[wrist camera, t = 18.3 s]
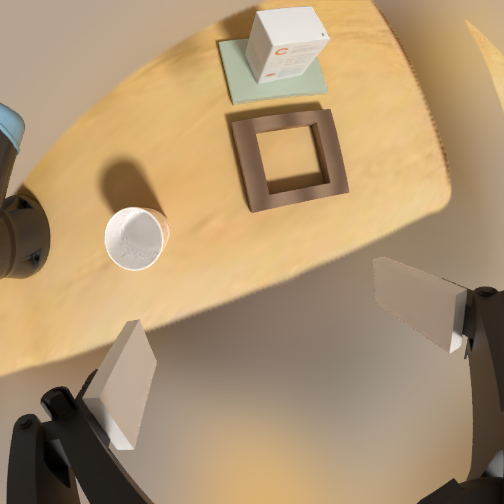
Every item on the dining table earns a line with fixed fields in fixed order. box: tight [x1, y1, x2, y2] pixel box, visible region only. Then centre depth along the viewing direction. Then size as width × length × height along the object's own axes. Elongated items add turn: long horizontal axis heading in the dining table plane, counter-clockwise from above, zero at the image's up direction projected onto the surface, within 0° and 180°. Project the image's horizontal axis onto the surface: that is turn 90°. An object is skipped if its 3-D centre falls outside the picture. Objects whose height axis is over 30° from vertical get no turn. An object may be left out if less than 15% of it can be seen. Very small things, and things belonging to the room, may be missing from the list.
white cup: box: [104, 207, 170, 271], centre depth 37 cm, size 8×8×10 cm
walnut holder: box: [231, 109, 349, 213], centre depth 42 cm, size 16×14×2 cm
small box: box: [245, 6, 330, 84], centre depth 32 cm, size 8×6×13 cm
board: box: [219, 38, 328, 105], centre depth 39 cm, size 16×12×2 cm
